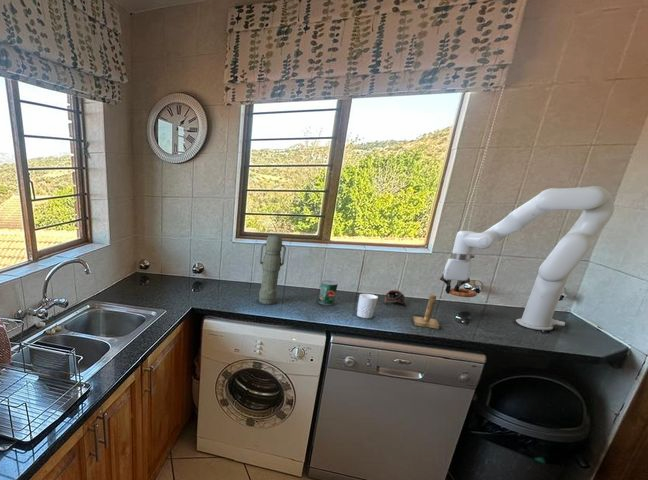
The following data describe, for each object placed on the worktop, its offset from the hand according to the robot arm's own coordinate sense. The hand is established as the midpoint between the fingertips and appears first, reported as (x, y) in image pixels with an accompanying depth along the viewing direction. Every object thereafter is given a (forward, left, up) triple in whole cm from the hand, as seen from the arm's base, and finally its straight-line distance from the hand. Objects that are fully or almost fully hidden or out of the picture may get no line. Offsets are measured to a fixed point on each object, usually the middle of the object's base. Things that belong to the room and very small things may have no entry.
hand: (451, 293), depth 202 cm
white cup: (+38, +33, -8) cm, 51 cm away
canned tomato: (+56, +19, -8) cm, 60 cm away
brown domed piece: (+24, +4, -8) cm, 26 cm away
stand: (+13, +32, -8) cm, 35 cm away
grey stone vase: (+84, +32, -8) cm, 90 cm away
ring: (-4, 0, +1) cm, 5 cm away
